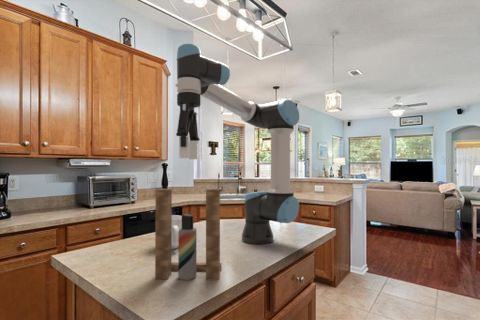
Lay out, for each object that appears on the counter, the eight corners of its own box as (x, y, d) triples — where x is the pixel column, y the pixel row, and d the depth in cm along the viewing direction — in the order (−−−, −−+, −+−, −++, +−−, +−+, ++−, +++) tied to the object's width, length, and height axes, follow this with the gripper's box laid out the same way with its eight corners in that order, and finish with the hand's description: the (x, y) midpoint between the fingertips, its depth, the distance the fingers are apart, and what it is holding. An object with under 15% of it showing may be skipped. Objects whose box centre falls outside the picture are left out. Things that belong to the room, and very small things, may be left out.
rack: (221, 268, 92) (221, 187, 93) (218, 279, 83) (218, 189, 84) (164, 268, 93) (164, 187, 94) (155, 279, 84) (155, 189, 85)
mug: (190, 250, 112) (190, 219, 112) (164, 255, 106) (164, 222, 106) (177, 242, 125) (178, 214, 125) (154, 246, 118) (154, 216, 119)
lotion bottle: (179, 273, 88) (179, 212, 89) (197, 272, 89) (197, 212, 89) (177, 280, 83) (177, 215, 83) (195, 280, 83) (195, 215, 84)
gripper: (186, 102, 100) (186, 159, 99) (166, 82, 75) (166, 157, 74) (206, 102, 100) (206, 159, 99) (192, 81, 75) (192, 157, 74)
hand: (189, 159), depth 87 cm, fingers open, 13 cm apart
